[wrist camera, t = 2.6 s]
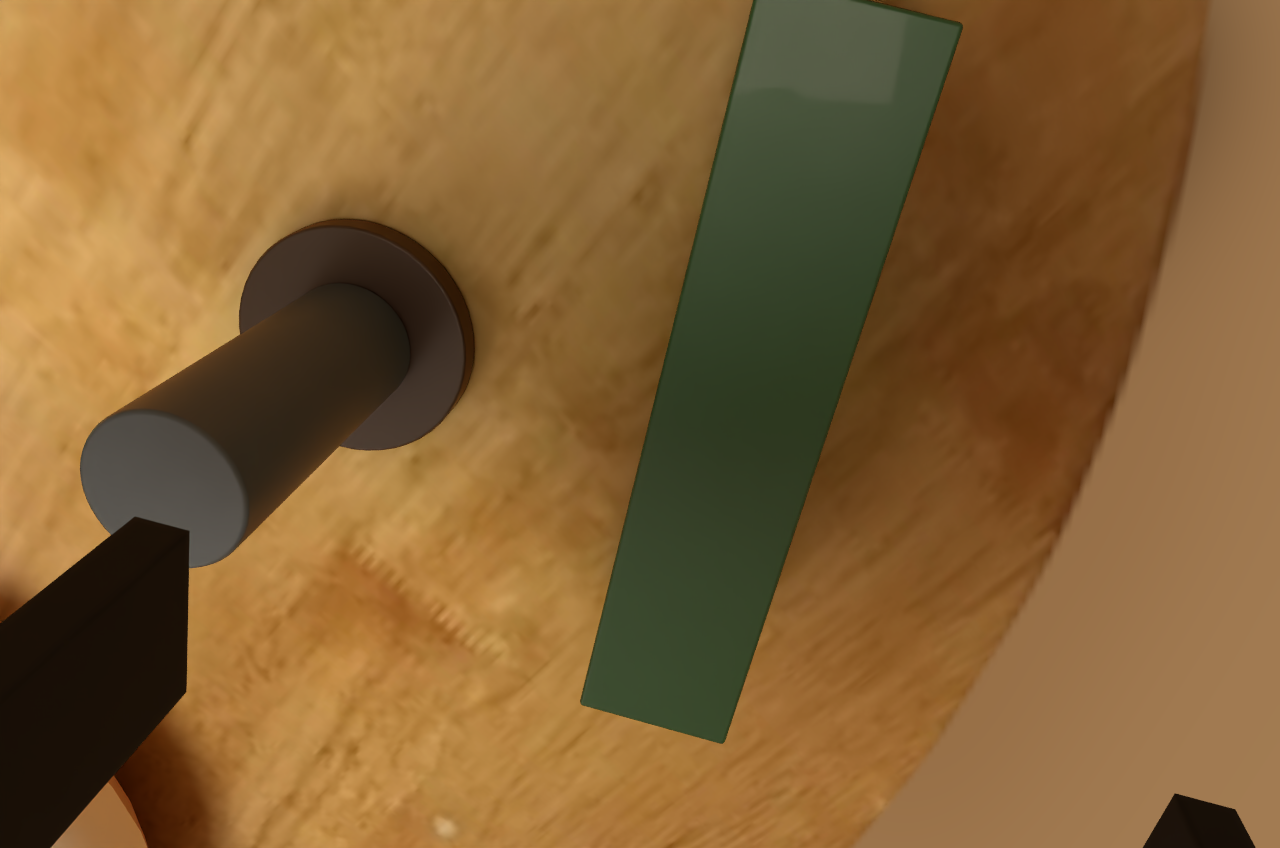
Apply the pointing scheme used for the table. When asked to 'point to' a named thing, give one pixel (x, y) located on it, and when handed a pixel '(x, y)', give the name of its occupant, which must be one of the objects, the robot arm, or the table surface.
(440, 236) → the table surface
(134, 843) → the bowl
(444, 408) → the grey cylinder on disc
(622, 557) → the green bar
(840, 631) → the table surface
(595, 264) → the table surface
